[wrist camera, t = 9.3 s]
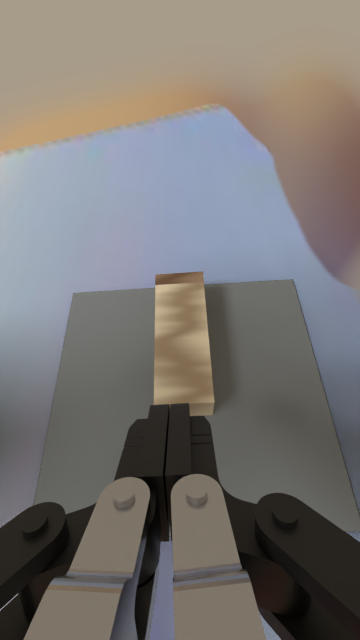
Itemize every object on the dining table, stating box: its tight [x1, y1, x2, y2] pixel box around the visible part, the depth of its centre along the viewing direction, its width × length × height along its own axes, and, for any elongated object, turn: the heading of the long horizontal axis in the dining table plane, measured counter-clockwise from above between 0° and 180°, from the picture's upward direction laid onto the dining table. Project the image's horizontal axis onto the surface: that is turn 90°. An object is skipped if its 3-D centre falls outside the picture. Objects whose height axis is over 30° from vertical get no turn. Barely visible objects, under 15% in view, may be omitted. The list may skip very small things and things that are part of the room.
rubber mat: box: [34, 279, 360, 537], centre depth 26 cm, size 24×22×1 cm
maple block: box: [154, 272, 214, 416], centre depth 26 cm, size 4×4×12 cm
